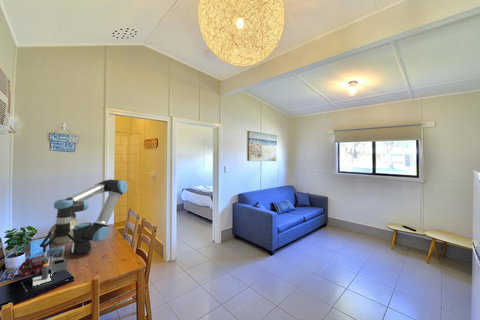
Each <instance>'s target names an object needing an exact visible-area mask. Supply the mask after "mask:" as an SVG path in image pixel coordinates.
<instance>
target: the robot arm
mask: <svg viewBox="0 0 480 320" xmlns="http://www.w3.org/2000/svg"><path fill="white" fill-rule="evenodd" d="M128 189H129V185H128V183H127V181H125V180H122V179H107V180H102V181H100V182H98V183H96V184H94V185H93V186H92V187H89V188H87V189H85V190H82V191H80V192H78V193H76V194H73V195H71V196H69V197H67V198H64V199H63V198H62V199H57V200H55V201H54V204H53V208H54V209H55V210H57V212H56V216H57V218H56V220H55V224H56V223H57V224H56V227H55V231H52V232H51V231H48V232H47V234H46V235H47V236H45V238H44V239H43V240H42V242H41V243H40V244H39V248H42V252H43V253H44V255H45V258H46V259H47V255H48V247H49V245H50V244H51V243H52V242H54V239H55V238H57V237H64V236H66V235H67V236H68V237H69V238H70V239H71V240H72V241H71V246H70V247H69V250H68V255H70V256H78V255H84V254H87V253H89V252H91V251H92V249H93V246H92V242H102V241H104V240H105V239H106V238H107V237H108V236H109V233H110V228H109V221H110V218H111V216H112V214H113V212H114V210H115V208H116V205H117V203H118V201H119V198H120V197H123V194H125V193H127V191H128ZM105 192H107V193H108V195H107V198H106V200H105V202H104V204H103V206H102V209H101V210H100V213H99V215H98V217H97V219H96V221H93V223H92V222H82V223H81V222H80V223H79V224H78V225H76V226H75V227H74V228H73V229H70V222H71V214H72V213H79V212H83V211H86V210H88V208H89V207H90V206H89V205H90V204H89V202H88V201H87V200H88V199H91V198H92V197H94V196H97V195H99V194H103V193H105ZM70 231H72V232H73V237H72V236H71V235H70V234H69V232H70ZM53 233H54V234H55V235H54V236H53V237H52V238H50V235H52V234H53ZM49 238H50V239H49ZM91 241H92V242H91Z"/></svg>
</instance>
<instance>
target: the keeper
mask: <svg viewBox="0 0 480 320" xmlns="http://www.w3.org/2000/svg"><path fill="white" fill-rule="evenodd" d="M49 272H50V263H49V262H48V263H45V264H44V265H43V269H42V271H41V275H40V276H35V277H33V278H32V287H33V286H35V287H37V286H36V285H39V286H41V285H40V284H42V283H45V282H49V281H51V278H50V274H51V273H49ZM52 274H53V273H52ZM52 274H51V276H52Z"/></svg>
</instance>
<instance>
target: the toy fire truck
mask: <svg viewBox="0 0 480 320" xmlns="http://www.w3.org/2000/svg"><path fill="white" fill-rule="evenodd" d="M46 260H47V257H46V258H45V254H44V255H40V256H35V257H31V258H30V257H29V258H26V259H25V260H24V261H23V262H22V263H21V265H20V266H18V269H17V275H18V276H19V275H21V276H22V277H23V278H24V277H29V276H30V275H31V274H32V273H33V274H35V275H38V274H40V273H42V270H43V265H44V264H46ZM37 273H38V274H37Z"/></svg>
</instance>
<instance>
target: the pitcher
mask: <svg viewBox="0 0 480 320" xmlns="http://www.w3.org/2000/svg"><path fill="white" fill-rule="evenodd" d="M55 218H56V219H57V215H56V216H55ZM76 218H77V215H76V212H74V213H72V214H71V222H70V229H73V228H74V227H75V226H76V225H78V224H80V223H79V222H78V220H76ZM56 224H57V223H56V222H55V223H54V225H52V226H51V227H50V229H49V231H51V232H52V231H55V227H56ZM49 231H48V232H49ZM69 234H70V235H71V236H72V237H73V232H72V231H70V232H69ZM54 235H55V234H54V233H53V234H52V235H50V237H49V238H50V239H51V238H52V237H53V236H54ZM53 242H54V243H55V244H57V245H58V244H66V243H70V242H71V243H72V242H73V240H71V239H70V238H69V237H68V236H67V235H66V236H64V237H57V238H55V239H54V240H53Z"/></svg>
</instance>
